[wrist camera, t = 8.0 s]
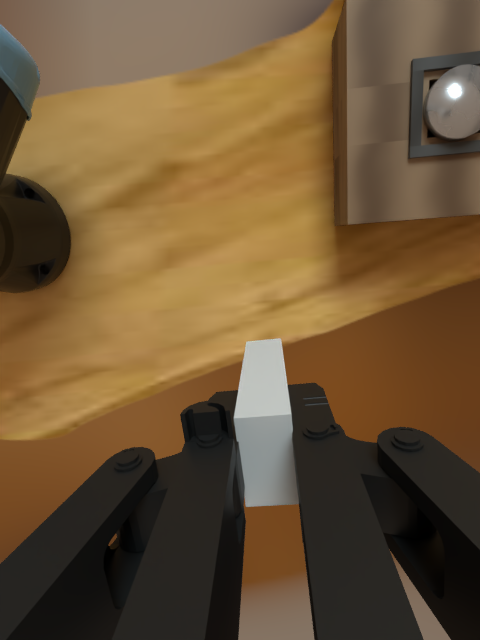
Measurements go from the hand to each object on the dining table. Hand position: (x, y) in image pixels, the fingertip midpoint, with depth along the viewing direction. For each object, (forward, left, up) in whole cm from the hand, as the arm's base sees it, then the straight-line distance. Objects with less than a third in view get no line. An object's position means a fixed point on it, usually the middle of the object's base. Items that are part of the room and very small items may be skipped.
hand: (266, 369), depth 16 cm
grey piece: (+18, +16, -32) cm, 40 cm away
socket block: (+18, +16, -32) cm, 41 cm away
